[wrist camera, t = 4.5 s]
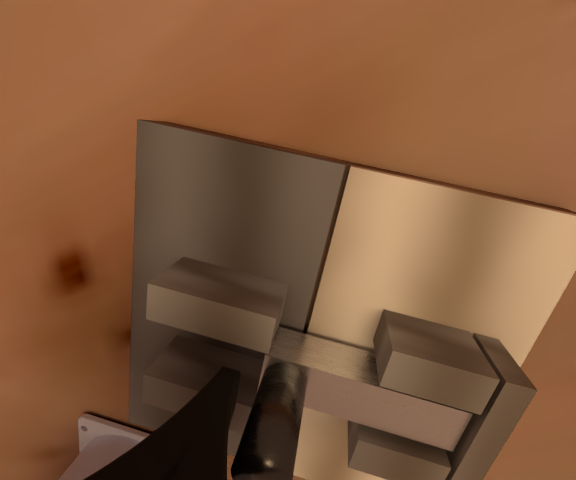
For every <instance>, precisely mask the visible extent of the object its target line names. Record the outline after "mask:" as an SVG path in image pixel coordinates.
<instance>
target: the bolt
mask: <svg viewBox="0 0 576 480" xmlns="http://www.w3.org/2000/svg"><path fill="white" fill-rule="evenodd" d="M304 407H306V408H309V409H312V410H316V411H319V412H322V413H326V414H329V415H332V416H336V417H339V418H342V419H346V420H349V421H352V422H356V423H359V424H362V425H366V426H369V427H372V428H376V429H379V430H382V431H386V432H389V433H392V434H396V435H399V436H402V437H406V438H409V439H412V440H416V441H419V442H422V443H426V444H429V445H432V446H436V447H439V448H442V449H446V450H449V451H452V452H453V450H454V449H455V447H456V445H457V443H458V441H459V439H460V437H461V436H462V434H463V432H464V430H465V428H466V426H467V425H468V423H469V421H470V419H471V417H472V415H473V413H472V412H469V411H465V410H462V409H458V408H455V407H451V406H448V405H444V404H441V403H437V402H434V401H430V400H427V399H423V398H420V397H416V396H413V395H409V394H406V393H402V392H399V391H395V390H392V389H388V388H385V387H381V386H379V380H378V372H377V365H376V358H375V353H372V352H369V351H365V350H361V349H358V348H354V347H351V346H347V345H343V344H340V343H336V342H333V341H329V340H325V339H322V338H318V337H314V336H311V335H307V334H304V333H300V332H296V331H293V330H289V329H286V328H282V327H278V329H277V331H276V334H275V337H274V340H273V343H272V346H271V348H270V351H269V354H266V353H265V357H264V362H263V366H262V371H261V376H260V380H259V385H258V390H257V394H256V397H255V400H254V403H253V406H252V409H251V412H250V414H249V417H248V420H247V423H246V426H245V429H244V432H243V435H242V438H241V441H240V443H239V446H238V449H237V452H236V455H235V458H234V461H233V464H232V467H231V475H232V478H233V480H292V479H293V473H294V466H295V460H296V453H297V447H298V440H299V434H300V427H301V421H302V414H303V408H304Z"/></svg>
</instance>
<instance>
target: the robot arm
mask: <svg viewBox="0 0 576 480" xmlns="http://www.w3.org/2000/svg"><path fill="white" fill-rule="evenodd" d="M240 377H241V373H240V371H237V370H234V369H230V368H227V367H224V366H223V367H222V368H221V369H220V370H219V371H218V372H217V373H216V375H215V376H214V377H213V378H212V379H211V380H210V381H209V382H208V383H207V384H206V385H205V386H204V387H203V388H202V389H201V390H200V391H199V392H198V393H197V394H196V395H195V396H194V397H193V398H192V399H191V400H190V401H189V402H188V403H187V404H186V405H185V406H183V407H182V408H181V409H180V410H179V411H178V412H177V413H176V414H174V415H173V416H172V417H171V418H170V419H168V420H167V421H166V422H165V423H164V424H163V425H161V426H160V427H159V428H158V429H156V430H155V431H154V432H153V433H151V434H148V433H145V432H142V431H139V430H136V429H133V428H130V427H127V426H124V425H120V424H117V423H114V422H111V421H108V420H105V419H102V418H99V417H96V416H93V415H90V414H83V415H82V416H81V417H80V418H79V419H78V431H79V453H80V454H79V455H78V456H77V458H76V459H75V460H74V461H73V462H72V464H71V465H70V466H69V467H68V468H67V470H66V471H65V472H64V473H63V474H62V476H61V477H60V478H59V479H58V480H227V447H228V432H229V427H230V423H231V420H232V417H233V413H234V410H235V405H236V399H237V394H238V388H239V383H240Z"/></svg>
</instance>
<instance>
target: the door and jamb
mask: <svg viewBox="0 0 576 480" xmlns="http://www.w3.org/2000/svg"><path fill="white" fill-rule="evenodd" d="M575 271H576V212H573V211H570V210H567V209H563V208H559V207H554V206H549V205H545V204H540V203H536V202H531V201H527V200H522V199H517V198H513V197H508V196H504V195H499V194H495V193H490V192H486V191H481V190H476V189H472V188H467V187H463V186H458V185H454V184H449V183H444V182H440V181H435V180H431V179H426V178H422V177H417V176H412V175H408V174H403V173H399V172H394V171H390V170H385V169H380V168H376V167H371V166H367V165H362V164H358V163H353V162H349V161H344V160H339V159H335V158H330V157H326V156H321V155H317V154H312V153H307V152H303V151H298V150H294V149H289V148H285V147H280V146H275V145H271V144H266V143H262V142H257V141H253V140H248V139H243V138H239V137H234V136H230V135H225V134H221V133H216V132H212V131H207V130H202V129H198V128H193V127H189V126H184V125H180V124H175V123H170V122H163V121H151V120H138V119H137V147H136V181H135V215H134V249H133V283H132V317H131V351H130V385H129V419H128V422H130V423H133V424H137V425H140V426H143V427H146V428H149V429H152V430H156V429H158V428H159V427H160V426H161V425H163V424H164V423H165V422H166V421H167V420H168V419H170V418H171V417H172V416H173V415H174V414H176V413H177V412H178V411H179V410H180V409H181V408H182V407H183V406H185V405H186V404H187V403H188V402H189V401H190V400H191V399H192V398H193V397H194V396H195V395H196V394H197V393H198V392H199V391H200V390H201V389H202V388H203V387H204V386H205V385H206V384H207V383H208V382H209V381H210V380H211V379H212V378H213V377H214V376H215V375H216V373H217V372H218V371H219V370H220V369H221V368H222V367H223V366H224V367H227V368H230V369H234V370H237V371H240V373H241V377H240V383H239V388H238V394H237V399H236V405H235V410H234V413H233V417H232V420H231V423H230V427H229V432H228V447H227V454H229V455H233V456H235V455H236V452H237V449H238V446H239V443H240V441H241V438H242V435H243V432H244V429H245V426H246V423H247V420H248V417H249V414H250V412H251V409H252V406H253V403H254V400H255V397H256V394H257V390H258V385H259V380H260V376H261V371H262V366H263V362H264V357H265V353H266V354H269V351H270V348H271V346H272V343H273V340H274V337H275V334H276V331H277V329H278V327H282V328H286V329H289V330H293V331H296V332H300V333H304V334H307V335H311V336H314V337H318V338H322V339H325V340H329V341H333V342H336V343H340V344H343V345H347V346H351V347H354V348H358V349H361V350H365V351H369V352H372V353H375V358H376V365H377V372H378V380H379V386H381V387H385V388H388V389H392V390H395V391H399V392H402V393H406V394H409V395H413V396H416V397H420V398H423V399H427V400H430V401H434V402H437V403H441V404H444V405H448V406H451V407H455V408H458V409H462V410H465V411H469V412H472V413H473V415H472V417H471V419H470V421H469V423H468V425H467V426H466V428H465V430H464V432H463V434H462V436H461V437H460V439H459V441H458V443H457V445H456V447H455V449H454V450H453V452H452V451H449V450H446V449H442V448H439V447H436V446H432V445H429V444H426V443H422V442H419V441H416V440H412V439H409V438H406V437H402V436H399V435H396V434H392V433H389V432H386V431H382V430H379V429H376V428H372V427H369V426H366V425H362V424H359V423H356V422H352V421H349V420H346V419H342V418H339V417H336V416H332V415H329V414H326V413H322V412H319V411H316V410H312V409H309V408H306V407H304V408H303V414H302V421H301V427H300V434H299V440H298V447H297V453H296V460H295V466H294V473H293V475H295V476H298V477H301V478H304V479H307V480H483V478H484V477H485V475H486V473H487V472H488V470H489V469H490V467H491V465H492V464H493V462H494V460H495V459H496V457H497V455H498V454H499V452H500V451H501V449H502V447H503V446H504V444H505V442H506V441H507V439H508V438H509V436H510V434H511V433H512V431H513V429H514V428H515V426H516V425H517V423H518V421H519V420H520V418H521V416H522V415H523V413H524V412H525V410H526V408H527V407H528V405H529V403H530V402H531V400H532V399H533V397H534V395H535V394H536V392H537V389H536V388H535V386H534V385H533V384H532V383H531V381H530V380H529V379H528V377H527V376H526V375H525V373H524V372H523V371H522V369H521V368H520V367H521V365H522V363H523V362H524V360H525V358H526V356H527V355H528V353H529V351H530V349H531V348H532V346H533V344H534V342H535V341H536V339H537V337H538V335H539V334H540V332H541V330H542V328H543V327H544V325H545V323H546V321H547V320H548V318H549V316H550V314H551V313H552V311H553V309H554V307H555V306H556V304H557V302H558V300H559V299H560V297H561V295H562V293H563V292H564V290H565V288H566V286H567V285H568V283H569V281H570V279H571V278H572V276H573V274H574V272H575Z"/></svg>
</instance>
